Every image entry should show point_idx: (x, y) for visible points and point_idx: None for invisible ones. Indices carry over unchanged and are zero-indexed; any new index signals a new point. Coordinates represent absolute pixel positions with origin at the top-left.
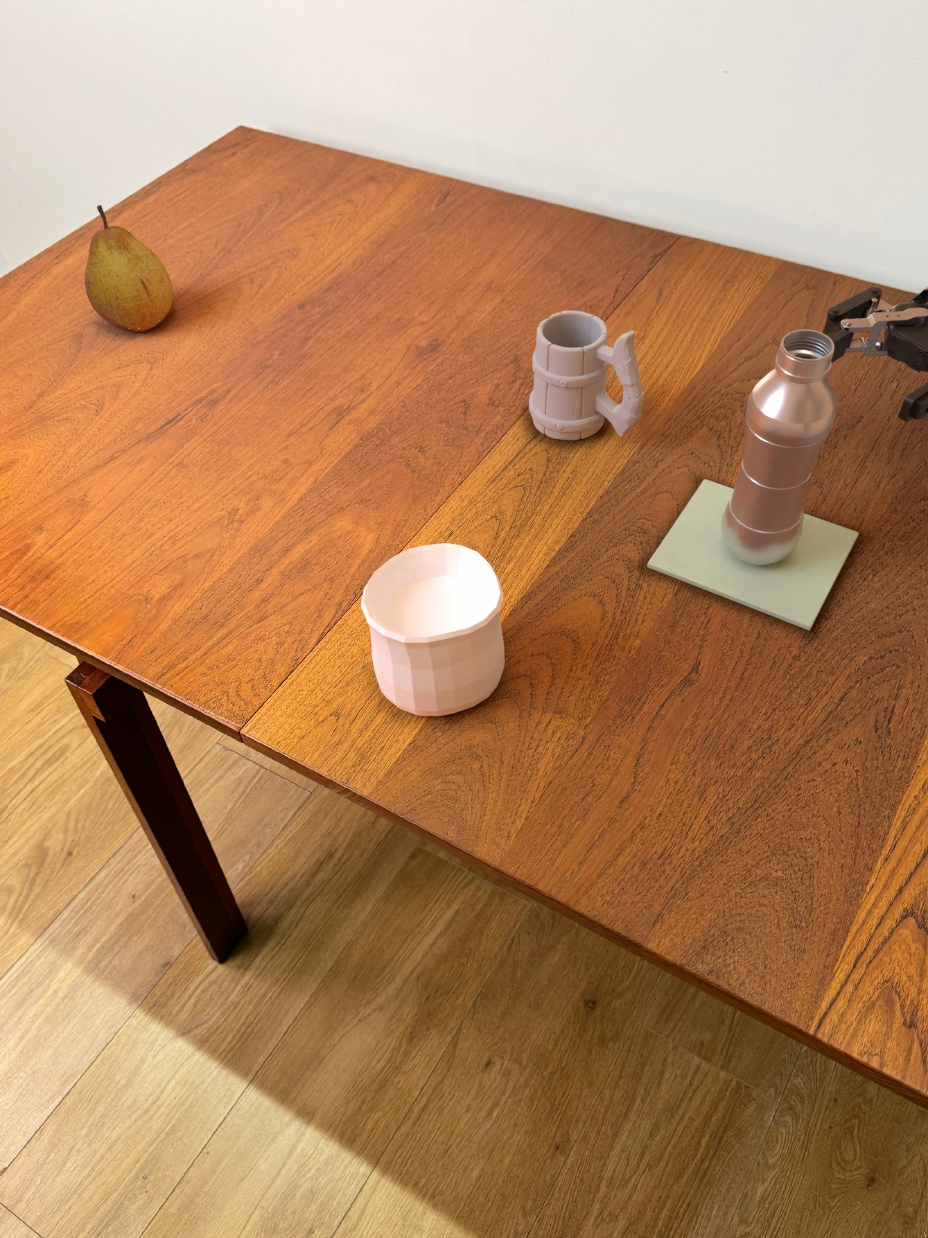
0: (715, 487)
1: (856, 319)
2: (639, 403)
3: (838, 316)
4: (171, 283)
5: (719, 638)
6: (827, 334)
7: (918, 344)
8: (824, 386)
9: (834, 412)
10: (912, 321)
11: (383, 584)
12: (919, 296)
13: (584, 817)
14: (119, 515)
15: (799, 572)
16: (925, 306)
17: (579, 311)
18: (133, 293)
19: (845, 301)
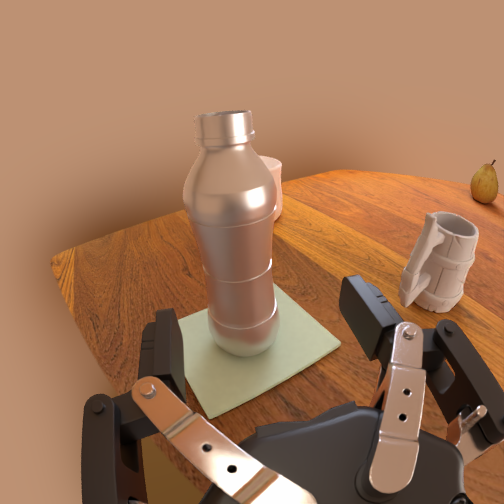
0: (327, 345)
1: (419, 349)
2: (402, 274)
3: (435, 331)
4: (490, 193)
5: (196, 290)
6: (393, 308)
7: (290, 427)
8: (198, 160)
9: (187, 195)
10: (373, 446)
11: (271, 164)
12: None
13: (166, 228)
14: (375, 181)
15: (203, 349)
16: None
17: (478, 232)
18: (475, 180)
19: (476, 355)
